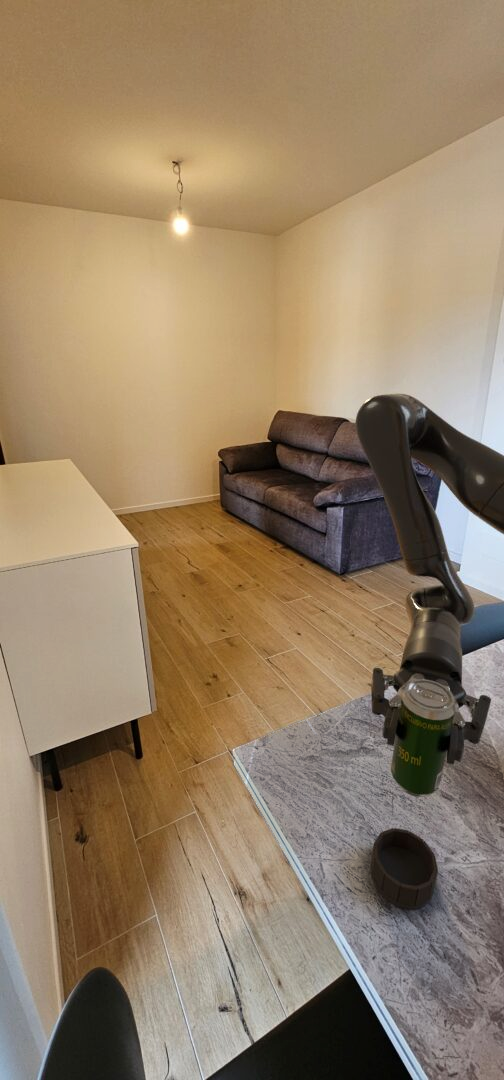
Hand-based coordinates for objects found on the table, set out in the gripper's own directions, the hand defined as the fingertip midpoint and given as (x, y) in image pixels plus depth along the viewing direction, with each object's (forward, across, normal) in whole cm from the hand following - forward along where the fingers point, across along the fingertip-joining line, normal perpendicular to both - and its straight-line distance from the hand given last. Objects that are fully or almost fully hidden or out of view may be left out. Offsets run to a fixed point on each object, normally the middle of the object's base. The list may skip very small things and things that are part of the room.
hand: (421, 747), depth 47 cm
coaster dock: (+1, 0, +18) cm, 18 cm away
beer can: (-3, 0, +7) cm, 8 cm away
